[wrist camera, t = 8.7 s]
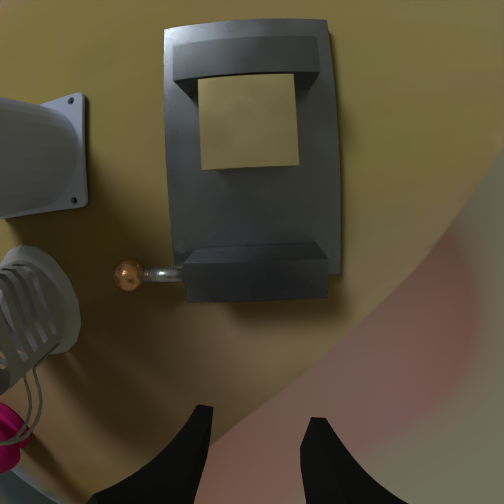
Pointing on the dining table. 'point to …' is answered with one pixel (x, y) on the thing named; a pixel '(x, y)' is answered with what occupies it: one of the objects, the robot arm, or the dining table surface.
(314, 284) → the sliding jaw
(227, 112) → the brass block
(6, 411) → the pepper mill
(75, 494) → the dining table surface
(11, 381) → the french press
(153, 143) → the dining table surface
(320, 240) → the vise
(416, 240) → the dining table surface
